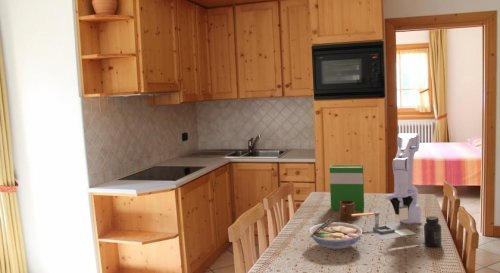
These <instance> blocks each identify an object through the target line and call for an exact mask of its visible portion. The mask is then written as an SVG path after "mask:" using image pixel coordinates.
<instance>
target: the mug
mask: <svg viewBox="0 0 500 273" xmlns="http://www.w3.org/2000/svg"><path fill="white" fill-rule="evenodd" d="M351 214H356V211H355V203H354V202H353V201H348V200H347V201H341V202H340V210H339V219H340V221H341V222H342V223H346V222H351V221H356V216H351Z"/></svg>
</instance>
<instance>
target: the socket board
mask: <svg viewBox="0 0 500 273" xmlns="http://www.w3.org/2000/svg"><path fill="white" fill-rule="evenodd" d="M379 216H380V214H379V215H374V225H370V226H364V227H362V229H363V230H364V231H366V232H368V233H369V234H371V235H372V236H375V237H376V238H378V239H379V240H381V241H383V240H389V239H395V238H401V237H403V238H404V237H409V236H415V235H417V233H416V232H414V231H412V230H410V229H408V228H406V227H404V226H402V225H400V224H398V223H396V222H392V223H391V222H390V223H385V224H380V221H379V220H380V218H379Z"/></svg>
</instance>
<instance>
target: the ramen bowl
mask: <svg viewBox="0 0 500 273" xmlns="http://www.w3.org/2000/svg"><path fill="white" fill-rule="evenodd" d="M334 221H335V219H334V218H332V219H331V218H327V220H325V222H324V223H319V224H316V225H314V226H311V227H310V229H309V230H308V232H309V233H310V236H309V238H312V239H313V241H314V242H316V243H317V244H318V245H319V246H321V247H324V248H328V249H329V250H333V251H339V250H343V249H346V248H350V247H351V246H353V245H355V244H356V243H357V242H358V241H359V240H360V238H361V236H362V234H363V230H364V229H363V228H362V227H359V226H358V225H355V224H351V223H346V222H334ZM362 229H363V230H362Z"/></svg>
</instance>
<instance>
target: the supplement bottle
mask: <svg viewBox="0 0 500 273" xmlns="http://www.w3.org/2000/svg"><path fill="white" fill-rule="evenodd" d="M425 220H426V221H425V224H424V225H423V236H424V237H423V240H424V243H423V244H424V245H425V246H426V247H428V248H440V247H441V246H442V245H443V244H442V242H443V241H442V237H443V236H442V226H441V224H440V222H439V221H440V220H439V217H438V216H433V215H429V216H426V219H425Z"/></svg>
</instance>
